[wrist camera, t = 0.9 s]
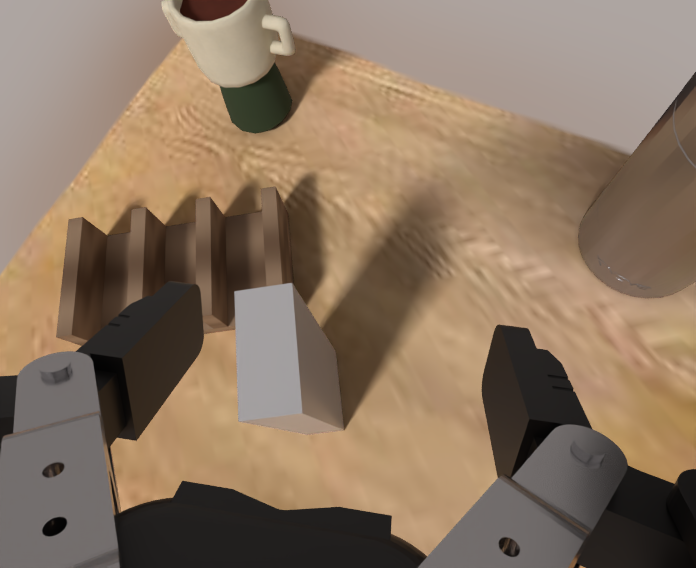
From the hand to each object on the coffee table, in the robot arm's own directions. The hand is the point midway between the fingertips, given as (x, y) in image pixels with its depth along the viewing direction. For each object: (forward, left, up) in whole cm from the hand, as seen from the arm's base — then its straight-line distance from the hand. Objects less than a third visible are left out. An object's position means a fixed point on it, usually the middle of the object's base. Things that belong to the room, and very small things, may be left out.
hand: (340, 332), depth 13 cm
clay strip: (+2, -4, -24) cm, 24 cm away
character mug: (-15, -27, -24) cm, 39 cm away
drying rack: (+2, -19, -24) cm, 31 cm away
